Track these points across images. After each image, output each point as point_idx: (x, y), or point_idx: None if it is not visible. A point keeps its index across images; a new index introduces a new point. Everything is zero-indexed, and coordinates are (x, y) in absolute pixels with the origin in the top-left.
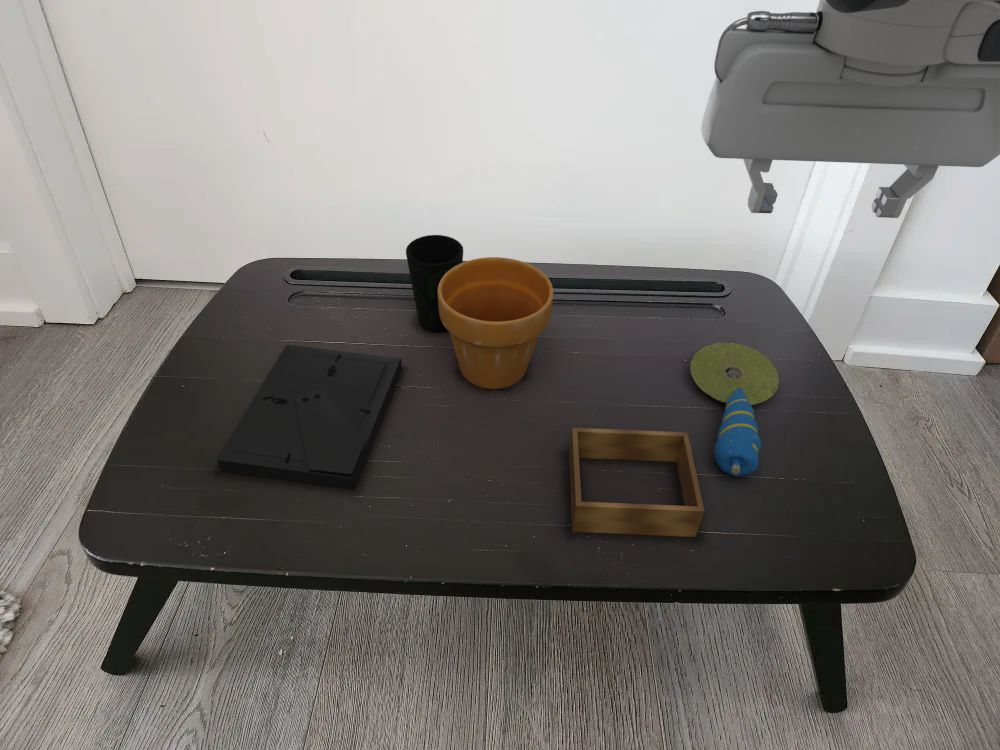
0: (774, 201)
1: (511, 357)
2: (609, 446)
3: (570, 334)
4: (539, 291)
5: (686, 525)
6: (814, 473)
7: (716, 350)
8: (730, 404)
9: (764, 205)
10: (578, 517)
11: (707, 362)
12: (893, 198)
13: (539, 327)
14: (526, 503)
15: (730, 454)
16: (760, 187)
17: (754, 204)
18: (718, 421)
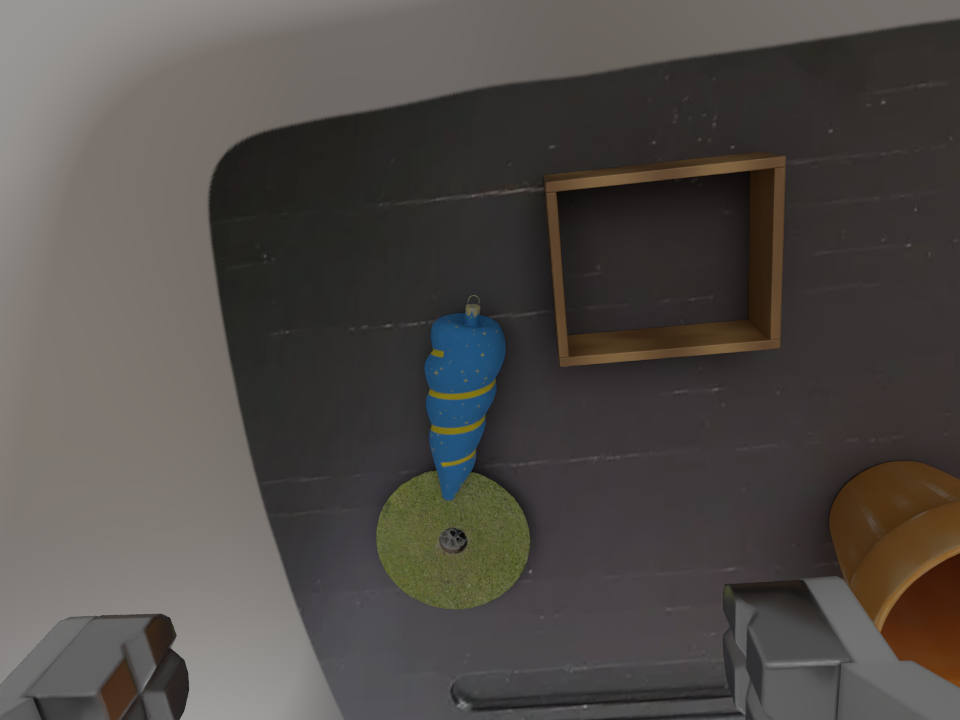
0: (754, 629)
1: (908, 499)
2: (695, 334)
3: None
4: None
5: (567, 175)
6: (332, 344)
7: (480, 588)
8: (470, 454)
9: (801, 605)
10: (766, 154)
11: (498, 559)
12: (63, 695)
13: (885, 554)
14: (840, 202)
15: (484, 329)
16: (922, 691)
17: (860, 609)
18: (483, 437)
